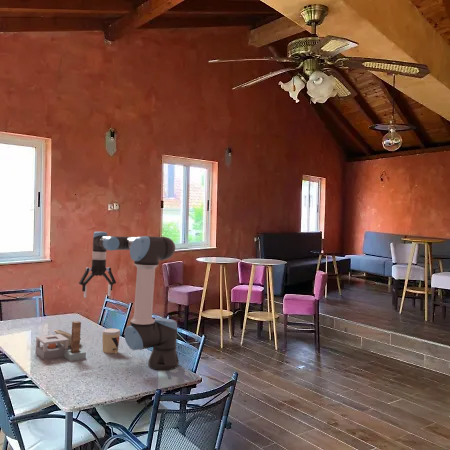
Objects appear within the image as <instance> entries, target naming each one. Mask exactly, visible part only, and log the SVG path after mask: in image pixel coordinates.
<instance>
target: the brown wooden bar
mask: <svg viewBox="0 0 450 450" xmlns="http://www.w3.org/2000/svg"><path fill="white" fill-rule="evenodd" d="M81 329H82V322H81V321H80V320H76V321H75V320H74V321H72V322H71V335H72V336H71V346H70V350H71V353H78V352H79V350H80V349H81V348H80V346H81V340H80V338H81Z"/></svg>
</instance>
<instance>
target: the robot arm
mask: <svg viewBox="0 0 450 450" xmlns="http://www.w3.org/2000/svg"><path fill="white" fill-rule="evenodd" d="M107 251H129V255H130V259H131V260H132V261H133V264H134V266H135V267H136V280H135V281H136V282H135V293H134V295H135V296H134V308H133V309H134V311H133V317H132V318H131V319H130V320H129V321H130V323H129V325H127V326H126V327H125V329H124V335H123V336H124V339H125V343H126V345H127V347H128V348H129V349H131V350H133V351H139V350H140V351H141V350H145V349H151V348H152V350H151V353H150V356H149V359H148V364H147V365H148V367H149V368H151V369H153V370H158V371H169V370H174V369H177V368H178V367H179V365H180V361H179V356H178V353H177V341H178V340H177V336H178V323H177V321H176V320H174V319H170V318H167V317H166V318H165V317H155V319H154V318H153V306H154V293H155V290H154V289H155V280H156V279H155V275H156V269H157V267H159V265H160V264H159V263H160V261H167V260H169V259H171V258H172V257H173V256H174V254H175V251H176V244H175V242H174V241H173V239H171V238H169V237H167V236H153V235H152V236H150V235H141V236H117V235H114V236H113V235H108V232H106V231H94V232H93V237H92V255H91V256H92V259H91V267H85V271H84V273H83V275H82V277H81V279H80V281H78V284H79V285H81V286H82V289H81V290H82V291H81V292H83V298H84V299H87V292H88V285H87V284H89V282H90V281H92V279H93V278H94V277H95V276H100V277H101V276H103V278H104V279H105V280H106V281H107V282H108V283H109V284H107V296H108V297H111V294H112V293H111V291H113V286H114V284H116V283H117V282H116V279H115V277H114V274H113V272H112V268H111V267H106V264H107ZM89 272H91V273H90V274H89ZM105 272H107V273H108V274H106V273H105ZM88 275H89V276H88ZM108 275H109V276H108ZM87 276H88V277H87Z"/></svg>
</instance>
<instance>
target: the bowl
mask: <svg viewBox="0 0 450 450" xmlns="http://www.w3.org/2000/svg"><path fill="white" fill-rule="evenodd" d="M53 331H54V333H55V334H61V335H62V336H64V337H66V338H67V339H69V342H68V347H71V336H72V333H69V332H67V331H64V330H61V329H54V330H53ZM80 341H81V337H80ZM60 343H61V344H63V345H64V342H60Z"/></svg>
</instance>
